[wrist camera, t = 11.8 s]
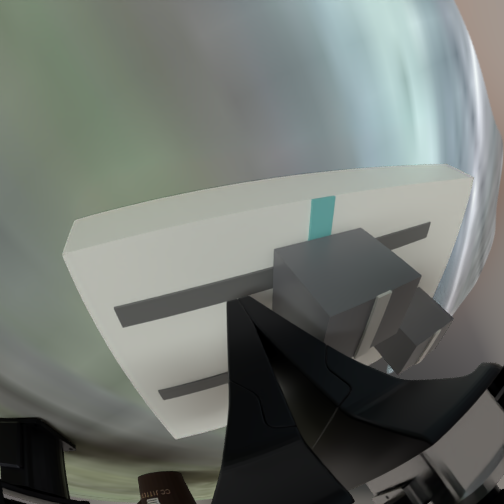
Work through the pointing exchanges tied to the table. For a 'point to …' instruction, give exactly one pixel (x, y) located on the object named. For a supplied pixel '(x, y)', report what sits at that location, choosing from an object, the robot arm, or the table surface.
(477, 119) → the table surface
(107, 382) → the table surface
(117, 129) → the table surface
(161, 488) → the coffee mug
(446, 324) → the fader back
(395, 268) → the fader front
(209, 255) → the console
